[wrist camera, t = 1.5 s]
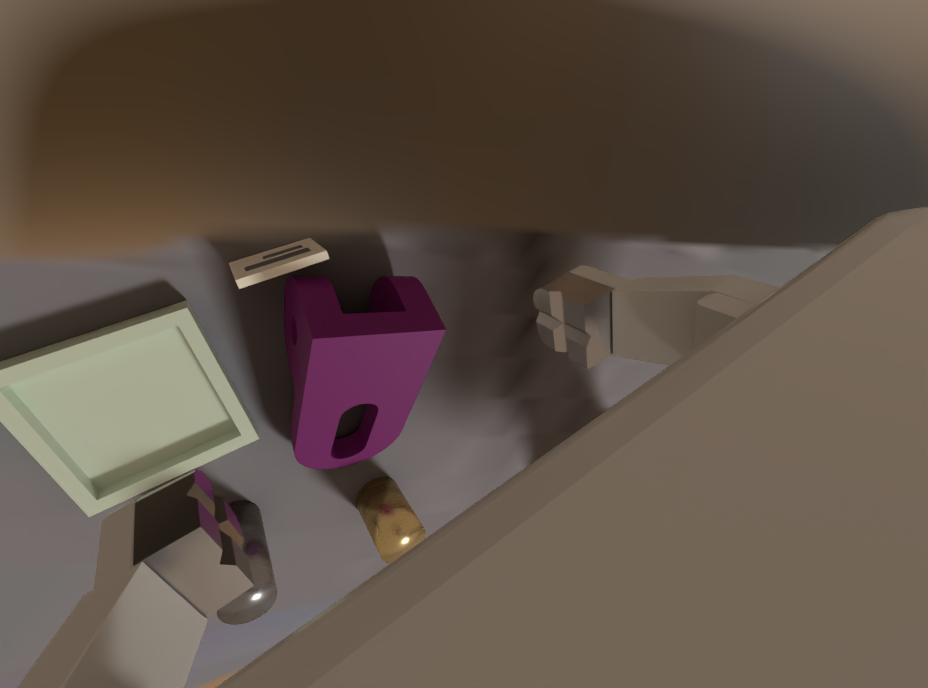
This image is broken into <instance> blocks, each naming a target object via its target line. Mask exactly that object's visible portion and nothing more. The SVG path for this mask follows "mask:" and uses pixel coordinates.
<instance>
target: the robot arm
mask: <svg viewBox="0 0 928 688" xmlns="http://www.w3.org/2000/svg"><path fill="white" fill-rule="evenodd" d="M533 302H534V307H535V308H536V309H538V310H539V314H538V317H537V320H536V325H537V330H538V334H539V335H540V337H541V339H542V341H543V342H544V343H545V344H546V345H547V346H548V347H549V348H551V349H552V350H554V351H559V352H566V353H567V357H568V359H570V360H572V361H573V362H575V363H577V364H579V365H580V366H582V367H584V368H586V369H589V368H591V367H593V366H594V365H596V364H597V363H599V362H601V361H602V360H604V359H606V358H607V357H609V356H611V355H612V354H613V356H617V357H623V358H628V359H634V360H640V361H646V362H652V363H657V364H663V365H669V366H668V367H667V368H666V369H664V370H663V371H661V372H660V373H659V374H657V375H656V376H654V377H653V378H651V379H650V380H649V381H647V382H646V383H644V384H643V385H642V386H640V387H639V388H637V389H636V390H635V391H633V392H632V393H630V394H629V395H628V396H626V397H625V398H623V399H622V400H620V401H619V402H618V403H616V404H615V405H613V406H612V407H611V408H609V409H608V410H606V411H605V412H604V413H602V414H601V415H599V416H598V417H596V418H595V419H594V420H592V421H591V422H589V423H588V424H587V425H585V426H584V427H582V428H581V429H580V430H578V431H577V432H575V433H574V434H572V435H571V436H570V437H568V438H567V439H565V440H564V441H563V442H561V443H560V444H558V445H557V446H556V447H554V448H553V449H551V450H550V451H548V452H547V453H546V454H544V455H543V456H541V457H540V458H539V459H537V460H536V461H534V462H533V463H531V464H530V465H529V466H527V467H526V468H524V469H523V470H522V471H520V472H519V473H517V474H516V475H515V476H513V477H512V478H510V479H509V480H507V481H506V482H505V483H503V484H502V485H500V486H499V487H498V488H496V489H495V490H493V491H492V492H491V493H489V494H488V495H486V496H485V497H483V498H482V499H481V500H479V501H478V502H476V503H475V504H474V505H472V506H471V507H469V508H468V509H467V510H465V511H464V512H462V513H461V514H460V515H458V516H457V517H455V518H454V519H453V520H451V521H450V522H448V523H447V524H445V525H444V526H443V527H441V528H440V529H438V530H437V531H436V532H434V533H433V534H431V535H430V536H429V537H427V538H426V539H424V540H423V541H422V542H420V543H419V544H417V545H416V546H415V547H413V548H412V549H410V550H409V551H408V552H406V553H405V554H403V555H402V556H401V557H399V558H398V559H396V560H395V561H393V562H392V563H391V564H389V565H388V566H386V567H385V568H384V569H382V570H381V571H379V572H378V573H377V574H375V575H374V576H372V577H371V578H370V579H368V580H367V581H365V582H364V583H363V584H361V585H360V586H358V587H357V588H356V589H354V590H353V591H351V592H350V593H349V594H347V595H346V596H344V597H343V598H342V599H340V600H339V601H337V602H336V603H334V604H333V605H332V606H330V607H329V608H327V609H326V610H325V611H323V612H322V613H320V614H319V615H317V616H316V617H315V618H313V619H312V620H310V621H309V622H307V623H306V624H305V625H303V626H302V627H300V628H299V629H298V630H296V631H295V632H293V633H292V634H290V635H289V636H288V637H286V638H285V639H283V640H282V641H281V642H279V643H278V644H276V645H275V646H273V647H272V648H271V649H269V650H268V651H266V652H265V653H264V654H262V655H261V656H259V657H258V658H256V659H255V660H254V661H252V662H251V663H249V664H248V665H247V666H245V667H244V668H242V669H241V670H239V671H238V672H237V673H235V674H234V675H232V676H231V677H230V678H228V679H227V680H225V681H224V682H223V683H221V684H220V685H218V686H217V687H216V688H928V207H923V208H916V209H909V210H902V211H897V212H892V213H888V214H885V215H883V216H881V217H879V218H877V219H875V220H873V221H872V222H871V223H869V224H868V225H867V226H865V227H864V228H863V229H861V230H860V231H859V232H857V233H856V234H854V235H853V236H852V237H850V238H849V239H847V240H846V241H845V242H843V243H842V244H840V245H839V246H838V247H836V248H835V249H833V250H832V251H830V252H829V253H828V254H826V255H825V256H823V257H822V258H821V259H819V260H818V261H816V262H815V263H814V264H812V265H811V266H809V267H808V268H807V269H805V270H804V271H802V272H801V273H799V274H798V275H797V276H795V277H794V278H792V279H791V280H790V281H788V282H787V283H785V284H784V285H783V286H781V287H777V286H773V285H770V284H766V283H762V282H758V281H755V280H751V279H747V278H743V277H740V276H736V275H724V276H685V277H646V278H634V279H632V280H629V279H626V278H623V277H620V276H617V275H614V274H611V273H608V272H605V271H602V270H599V269H595V268H592V267H589V266H586V265H581V266H577V267H576V268H574V269H572V270H570V271H569V272H567V273H565V274H564V275H562V276H561V277H559V278H557V279H555V280H553V281H552V282H550V283H548V284H546V285H544V286H542V287H541V288H539V289H537V290H535V291H534V295H533ZM243 541H244V537H243V533H242V529H241V527H240V524H239V522H238V520H237V517H236V515H235V514H234V512H233V510H232V509H231V507H230V506H229V504H228V503H227V502H226V500H225V499H224V498H223V497H220V496H214V495H213V491H212V485H211V482H210V481H209V480H208V478H207V477H206V476H205V475H204V474H203V473H202V471H200V470H197V469H195V470H193V471H191V472H189V473H187V474H185V475H183V476H181V477H179V478H177V479H175V480H173V481H171V482H169V483H167V484H165V485H163V486H161V487H159V488H157V489H155V490H153V491H151V492H149V493H147V494H145V495H143V496H141V497H139V498H138V499H136V500H133V501H132V502H130V503H128V504H126V505H124V506H122V507H120V508H118V509H116V510H115V511H113V512H111V513H109V514H107V515H106V517H105V518H104V519H103V521H102V527H101V535H100V543H99V552H98V560H97V568H96V576H95V585H94V589H93V590H92V591H90V592H88V593H87V594H85V595H83V597H82V598H81V600H80V601H79V602H78V604H77V605H76V606H75V608H74V609H73V611H72V612H71V613H70V615H69V616H68V618H67V619H66V620H65V622H64V623H63V625H62V626H61V627H60V629H59V630H58V631H57V633H56V634H55V636H54V637H53V638H52V640H51V641H50V643H49V644H48V645H47V647H46V648H45V650H44V651H43V652H42V654H41V655H40V657H39V658H38V659H37V661H36V662H35V663H34V665H33V666H32V668H31V669H30V670H29V672H28V673H27V675H26V676H25V677H24V679H23V680H22V682H21V683H20V684H19V686H18V687H17V688H184V686H185V683H186V680H187V677H188V675H189V672H190V669H191V666H192V663H193V660H194V658H195V655H196V652H197V649H198V646H199V643H200V641H201V638H202V635H203V632H204V629H205V627H206V624H207V621H208V620H207V619H206V618H207V617H209V616H210V615H212V614H213V613H215V612H216V611H217V610H219V609H220V608H222V607H223V606H225V605H226V604H228V603H229V602H231V601H232V600H234V599H235V598H237V597H238V596H240V595H241V594H242V593H244V592H245V591H247V590H248V589H250V588H251V587H253V586H254V582H253V577H252V573H251V568H250V564H249V559H248V557H247V556H246V554H245V553H244V552H243V551H242V550H241V545H242V543H243Z"/></svg>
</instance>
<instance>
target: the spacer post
mask: <svg viewBox="0 0 928 688" xmlns="http://www.w3.org/2000/svg"><path fill="white" fill-rule="evenodd" d="M229 506H230V507H231V509H232V510H233V512H234V514H235V515H236V517H237V520H238V522H239V524H240V527H241V529H242V533H243V537H244V541H243V543H242V545H241V550H242V551H243V552H244V553H245V554H246V556H247V557H248V559H249V564H250V568H251V573H252V577H253V582H254V586H253V587H251V588H250V589H248V590H247V591H245V592H244V593H242V594H241V595H240V596H238V597H237V598H235V599H234V600H232V601H231V602H229V603H228V604H226V605H225V606H223V607H222V608H220V609H219V610H217V615H218V618H219V619H220V620H221V621H222V622H224V623H227V624H232V625H237V624H243V623H247V622H250V621H252V620H255V619H257V618H258V617H260V616H262V615H263V614H264V613H266V612H267V611H268V610H269V609H270V608H271V607H272V605H273V604H274V602H275V600H276V597H277V588H276V584H275V579H274V574H273V569H272V565H271V560H270V555H269V550H268V546H267V541H266V536H265V532H264V527H263V522H262V517H261V513H260V509H259V508H258V506H257V505H255V504H254V503H252V502H248V501H237V502H233V503H230V504H229Z"/></svg>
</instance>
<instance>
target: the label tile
mask: <svg viewBox="0 0 928 688" xmlns="http://www.w3.org/2000/svg"><path fill="white" fill-rule="evenodd" d="M328 259H329V256H328V253H327V250H325V249H324V248H323V247H321V246H320V245H319V244H317V243H316V242H315V241H314V240H312V239H311V238H307V239H304V240H300V241H297V242H294V243H291V244H287V245H284V246H281V247H278V248H275V249H271V250H268V251H265V252H262V253H258V254H255V255H252V256H249V257H246V258H242V259H239V260H236V261H233V262H229V266H230V268H231V271H232V274H233V276H234V279H235V281H236V283H237V285H238V287H239V289H241V288H244V287H247V286H250V285H253V284H256V283H259V282H262V281H265V280H268V279H271V278H274V277H277V276H280V275H283V274H286V273H289V272H292V271H295V270H298V269H301V268H304V267H307V266H310V265H313V264H316V263H319V262H322V261H325V260H328Z"/></svg>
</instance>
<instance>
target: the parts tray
mask: <svg viewBox="0 0 928 688" xmlns="http://www.w3.org/2000/svg"><path fill="white" fill-rule="evenodd" d="M0 422H1V423H2V424H3V425H4V426H5V427H6V428H7V429H8V430H9V431H10V432H11V433H12V434H13V436H14V437H15V438H16V439H17V440H18V441H19V442H20V443H21V444H22V445H23V446H24V447H25V448H26V450H27V451H28V452H29V453H30V454H31V455H32V456H33V457H34V458H35V459H36V460H37V461H38V463H39V464H40V465H41V466H42V467H43V468H44V469H45V470H46V471H47V472H48V473H49V474H50V475H51V477H52V478H53V479H54V480H55V481H56V482H57V483H58V484H59V485H60V486H61V487H62V488H63V490H64V491H65V492H66V493H67V494H68V495H69V496H70V497H71V498H72V499H73V500H74V501H75V502H76V504H77V505H78V506H79V507H80V508H81V509H82V510H83V511H84V512H85V513H86V514H87V515H88V516H89V517H90V516H92V515H95V514H97V513H99V512H101V511H103V510H105V509H108V508H110V507H112V506H114V505H116V504H118V503H121V502H123V501H125V500H127V499H129V498H132V497H134V496H136V495H138V494H140V493H142V492H145V491H147V490H149V489H151V488H153V487H155V486H158V485H160V484H162V483H164V482H166V481H168V480H171V479H173V478H175V477H177V476H179V475H182V474H184V473H186V472H188V471H190V470H192V469H195V468H197V467H199V466H201V465H203V464H205V463H208V462H210V461H212V460H214V459H216V458H218V457H221V456H223V455H225V454H227V453H229V452H232V451H234V450H236V449H238V448H240V447H242V446H245V445H247V444H249V443H251V442H253V441H255V440H258V439H259V435H258V431H257V428H256V426H255V424H254V422H253V420H252V418H251V416H250V415H249V413H248V411H247V409H246V407H245V405H244V404H243V402H242V400H241V398H240V396H239V394H238V393H237V391H236V389H235V387H234V385H233V383H232V382H231V380H230V378H229V376H228V374H227V372H226V371H225V369H224V367H223V365H222V363H221V361H220V360H219V358H218V356H217V354H216V352H215V350H214V349H213V347H212V345H211V343H210V341H209V340H208V338H207V336H206V334H205V332H204V330H203V329H202V327H201V325H200V323H199V321H198V319H197V318H196V316H195V314H194V312H193V310H192V308H191V307H190V305H189V303H188V301H187V300H185V301H182V302H179V303H176V304H173V305H170V306H167V307H164V308H161V309H158V310H155V311H152V312H149V313H146V314H143V315H140V316H137V317H134V318H131V319H128V320H125V321H122V322H119V323H115V324H112V325H109V326H106V327H103V328H100V329H97V330H94V331H91V332H88V333H85V334H82V335H79V336H76V337H73V338H70V339H67V340H64V341H61V342H58V343H55V344H52V345H49V346H46V347H42V348H39V349H36V350H33V351H30V352H27V353H24V354H21V355H18V356H15V357H12V358H9V359H6V360H3V361H0Z"/></svg>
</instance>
